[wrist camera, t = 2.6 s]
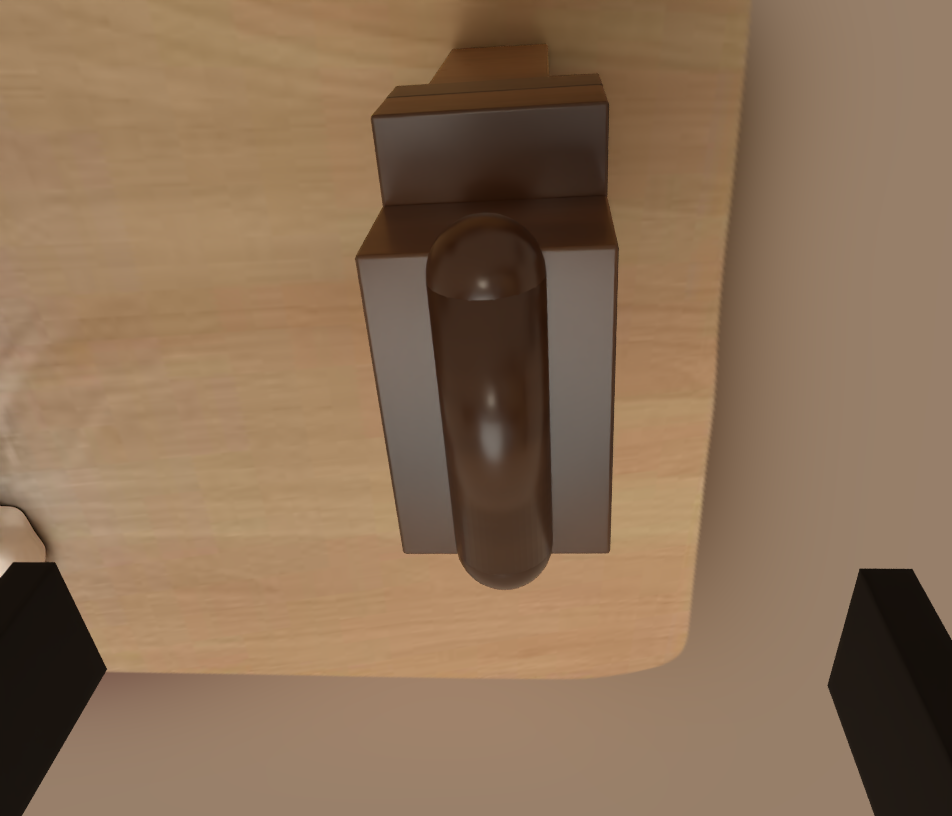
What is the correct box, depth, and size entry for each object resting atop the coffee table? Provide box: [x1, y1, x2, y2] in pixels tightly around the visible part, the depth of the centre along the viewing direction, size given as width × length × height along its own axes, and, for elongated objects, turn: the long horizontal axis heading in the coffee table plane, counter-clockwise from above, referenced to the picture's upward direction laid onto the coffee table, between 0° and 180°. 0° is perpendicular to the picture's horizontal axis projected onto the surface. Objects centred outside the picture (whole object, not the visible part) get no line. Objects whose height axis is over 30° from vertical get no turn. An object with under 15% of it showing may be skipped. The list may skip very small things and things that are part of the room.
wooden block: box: [429, 44, 549, 84], centre depth 29 cm, size 10×4×14 cm, turn 4°
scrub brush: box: [355, 73, 619, 590], centre depth 19 cm, size 12×5×8 cm, turn 4°
